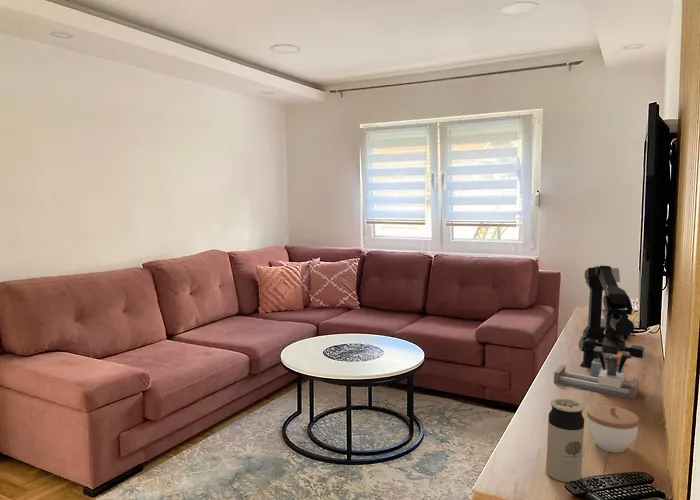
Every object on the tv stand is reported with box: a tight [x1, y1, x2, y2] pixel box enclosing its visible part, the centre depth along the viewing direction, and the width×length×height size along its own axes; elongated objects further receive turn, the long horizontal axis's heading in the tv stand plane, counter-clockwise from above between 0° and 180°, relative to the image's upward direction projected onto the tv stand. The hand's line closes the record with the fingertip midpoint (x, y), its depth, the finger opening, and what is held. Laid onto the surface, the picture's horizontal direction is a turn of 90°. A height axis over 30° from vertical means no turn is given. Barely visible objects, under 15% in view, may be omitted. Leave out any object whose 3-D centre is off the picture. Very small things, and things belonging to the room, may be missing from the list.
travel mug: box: [545, 397, 585, 483], centre depth 127 cm, size 8×8×18 cm
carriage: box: [598, 356, 625, 388], centre depth 183 cm, size 8×7×9 cm
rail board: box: [553, 364, 640, 400], centre depth 187 cm, size 10×26×4 cm, turn 55°
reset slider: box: [613, 354, 622, 365], centre depth 192 cm, size 3×3×3 cm
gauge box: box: [590, 359, 625, 378], centre depth 194 cm, size 6×10×6 cm, turn 55°
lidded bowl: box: [586, 404, 640, 453], centre depth 142 cm, size 13×13×11 cm
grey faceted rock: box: [605, 353, 614, 360], centre depth 219 cm, size 6×7×7 cm
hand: (611, 371), depth 183 cm, fingers open, 5 cm apart
